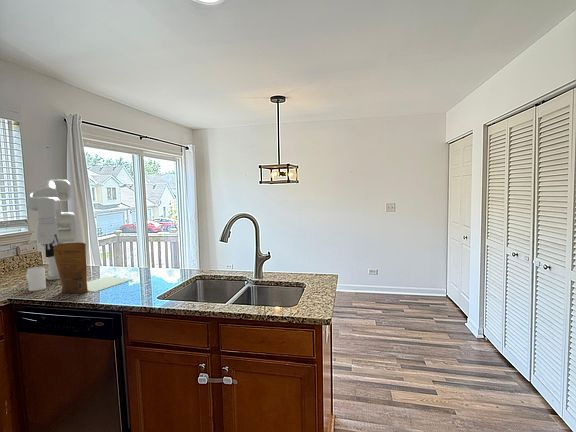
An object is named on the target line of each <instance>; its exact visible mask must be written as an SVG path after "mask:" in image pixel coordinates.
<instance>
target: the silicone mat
mask: <svg viewBox="0 0 576 432" xmlns="http://www.w3.org/2000/svg"><path fill="white" fill-rule="evenodd" d="M133 279H134V278H132V279H131V278H125V277H113V276H104V277H100V278H96V279H93V280H90V281H87V288H88V293H90V292H91V293H97V292H99V291H103V290H105V289H106V290H107V289H109V288H112V287H115V286H118V285H121V284H124V283H128V282H130V281H133Z"/></svg>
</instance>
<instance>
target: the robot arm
mask: <svg viewBox="0 0 576 432" xmlns="http://www.w3.org/2000/svg"><path fill="white" fill-rule="evenodd" d="M72 198H73V190H72V185H71V183H70V181H68V180H67V179H46V180H44V181H43V182H41V185H40V188H38V189H37V190H34V191H32V192H30V193H29V195H28V197H27V202H26V205H27V208H28V210H29V211H30V212H37V218H38V222H37V223H38V224H37V234H36V235H37V236H36V237H37V243H38V244H40V245H41V246H43V247H44V250H45V257H46V258H47V260H48V261H47V262H48V271H47V272H46V274H47V275H48V276H47V277H46V280H50V281H56V280H60V277H59V273H58V269H57V266H56V263H55V259H54V247H55V246H57V243H77V241H78V229H77V227H78V225H77V216H76V215H75V213H74V212H71V211H65V212H64V211H63V210H62V203H61V202H62V201H64V202H65V201H67V202H68V201H70V200H71V199H72ZM66 227H67V228H66Z"/></svg>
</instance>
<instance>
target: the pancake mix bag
mask: <svg viewBox="0 0 576 432" xmlns="http://www.w3.org/2000/svg"><path fill="white" fill-rule="evenodd" d="M54 259H55V263H56V266H57V269H58V273H59V277H60V279H59V280H60V283H61V292H62V293H63V294H78V295H79V294H86V293H89V291H88V288H87V282H88V281H87V280H88V279H87V272H88V271H87V269H88V267H87V244H86V243H85V242H72V243H57V246H55V247H54Z"/></svg>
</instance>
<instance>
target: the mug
mask: <svg viewBox="0 0 576 432" xmlns="http://www.w3.org/2000/svg"><path fill="white" fill-rule="evenodd" d="M26 270H27V272H26V275H25V278H26V279H25V280H26V281H27V283H28V288H27V290H28V291H30V292H32V291H33V292H34V291H37V292H38V291H42V290H45V289H47V284H46V283H47V282H46V280H47V278H46V269H45V266H35V267H30V268H27V269H26Z"/></svg>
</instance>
